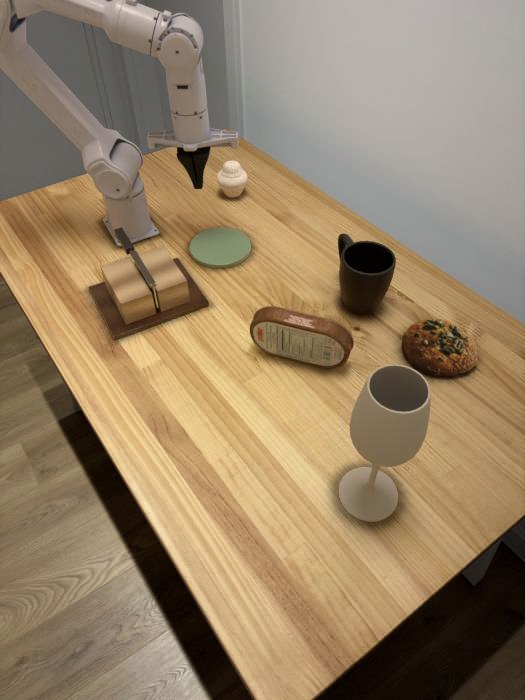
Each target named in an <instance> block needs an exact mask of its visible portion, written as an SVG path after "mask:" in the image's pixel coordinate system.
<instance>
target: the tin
mask: <svg viewBox="0 0 525 700" xmlns="http://www.w3.org/2000/svg"><path fill="white" fill-rule="evenodd" d="M249 335H250V338H251V341H252V342H253V343H254V344H255V345H256V346H257V348H259V349H260V350H262V351H263V352H266V353H267V354H268V355H269V354H270V355H273V356H276V357H280V358H283V359H286V360H287V359H288V360H290V361H294V362H298V363H301V364H302V363H303V364H306V365H309V366H313V367H317V368H321V369H335V368H339V367H341V366H343V365H344V364H345V363H346V362H347V361H348V359H349V358H350V355H351V353H352V350H353V348H354V344H355V341H354V337H353V335H352V333H351V332H350V331H349V330H348V329H347V327H345V326H344V325H343V324H341V323H340V322H338V321H335V320H333V319H330V318H328V317H327V318H326V317H322V316H319V315H315V314H309V313H305V312H301V311H297V310H293V309H289V308H285V307H281V306H276V305H268V306H263V307H260V308H259V309H257V311H255V312H254V315H253V318H252V320H251V323H250V325H249Z"/></svg>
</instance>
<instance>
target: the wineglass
mask: <svg viewBox="0 0 525 700" xmlns="http://www.w3.org/2000/svg"><path fill="white" fill-rule="evenodd" d="M430 386H431V385H430V383H429V382H428V380H427V379H426V378H425V377H424V375H423V374H422V373H421V372H420V371H418V370H416V369H415V368H413V367H410V366H407V365H404V364H398V363H390V364H385V365H381V366H379V367H377V368H375V369H374V370H373V371H372V372H371V373H370V374H369V375H368V377H367V379H366V381H365V383H364V385H363V387H362V388H361V390H360V392H359V394H358V396H357V398H356V400H355V403H354V406H353V408H352V411H351V416H350V421H349V436H350V440H351V443H352V445H353V447H354V449H355V451H357V453H358V455H360V456H361V457H362V458H363V459H364V460H365V461H367V462H369V463H370V464H372V467H370V466H358V467H355V468H353V469H350V470H349V471H347V472H346V473H345V474H344V475H343V476H342V478H341V480H340V481H339V485H338V498H339V501H340V504H341V506H342V507H343V508H344V510H345V511H346V512H347V513H348V514H349V515H351V516H352V517H354V518H355V519H358V520H360V521H363V522H367V523H374V522H375V523H376V522H380V521H383V520H385V519H388V517H390V516H391V515H392V514H394V512H395V511H396V508H397V506H398V502H399V492H398V489H397V486H396V483H395V482H394V481H393V479H392V478H391V477H390V476H389V475H388V474H387V473H385V472H384V471H382V470H380V467H382V468H383V467H384V468H395V467H398V466H401V465H404V464H405V463H407V462H408V461H411V460H412V459H414V458H415V456H416V455H417V454H418V453H419V451H420V450H421V448H422V446H423V444H424V441H425V439H426V436H427V433H428V428H429V423H430V422H429V421H430V416H431V415H430V414H431V403H432V402H431V400H432V392H431V387H430Z"/></svg>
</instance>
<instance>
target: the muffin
mask: <svg viewBox="0 0 525 700" xmlns="http://www.w3.org/2000/svg"><path fill="white" fill-rule="evenodd" d="M248 179H249V177H248V173H247V172H246V171H245V170H244V169H243V167H242V166H241V164H240V162H239V161H236V160H233V159H232V160H227V161H225V162H224V163H223V164H222V168H221V169H220V170H219V171H218V172H217V174H216V182H217V183H218V186H219V188H220V189H221V191H222V192H223V193H224V196H226V197H228V198H238V197H240V196H241V195H242V193H243V191H244V189H245V187H246V185H247V182H248Z"/></svg>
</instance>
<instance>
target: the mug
mask: <svg viewBox="0 0 525 700" xmlns="http://www.w3.org/2000/svg"><path fill="white" fill-rule="evenodd" d="M337 250H338V251H337V252H338V257H339V270H338V280H339V281H338V282H339V289H340V293H341V299H342V302H343V306H344V308H345V309H346V310H347V311H348V312H350V313H352V314H353V315H356V316H357V315H358V316H367V315H370V314H373V313H374V312H376V310H377V309H378V307H379V306H380V304H381V303H382V301H383V299H384V298H385V296H386V294H387V293H388V291H389V289H390V286H391V284H392V280H393V278H394V274H395V270H396V269H395V268H396V264H397V258H396V255H395V253H394V252H393V250H392V249H391V248H389V247H388V246H386V245H385V244H383V243H381V242H377V241H372V240H359V241H355V242H354V240H353V239H352V238H351V237H350V235H348V233H345V232H344V233H341V234H339V235H338V237H337Z"/></svg>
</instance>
